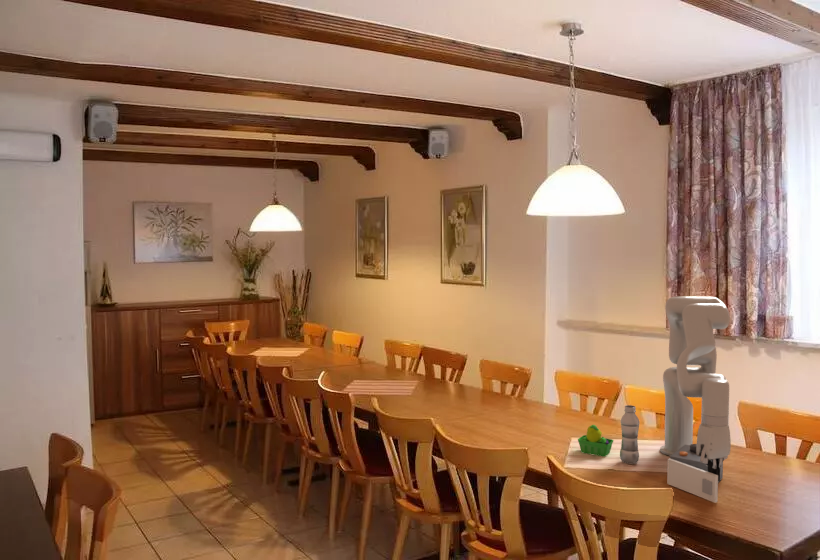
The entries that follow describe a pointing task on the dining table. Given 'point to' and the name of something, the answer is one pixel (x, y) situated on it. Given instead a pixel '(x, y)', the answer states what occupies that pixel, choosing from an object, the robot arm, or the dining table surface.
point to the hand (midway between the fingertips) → (713, 479)
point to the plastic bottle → (629, 436)
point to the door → (693, 480)
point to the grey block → (691, 458)
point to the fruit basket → (595, 442)
